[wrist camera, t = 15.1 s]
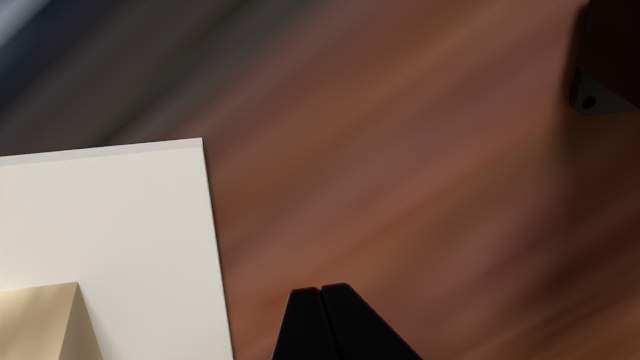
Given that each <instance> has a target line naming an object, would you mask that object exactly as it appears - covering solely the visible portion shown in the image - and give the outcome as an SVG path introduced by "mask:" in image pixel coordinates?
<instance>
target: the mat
mask: <svg viewBox="0 0 640 360" xmlns="http://www.w3.org/2000/svg"><path fill="white" fill-rule="evenodd" d="M77 281H78V284H79V287H80V290H81V293H82V296H83V299H84V302H85V305H86V308H87V311H88V315H89V318H90V321H91V324H92V327H93V330H94V333H95V336H96V339H97V342H98V345H99V348H100V351H101V354H102V357H103V360H234V358H233V351H232V344H231V337H230V330H229V323H228V316H227V309H226V302H225V295H224V288H223V282H222V275H221V268H220V261H219V254H218V247H217V240H216V233H215V226H214V219H213V212H212V205H211V198H210V191H209V184H208V177H207V170H206V163H205V156H204V149H203V142H202V138H193V139H183V140H172V141H162V142H151V143H141V144H130V145H120V146H109V147H99V148H89V149H78V150H68V151H57V152H47V153H36V154H26V155H15V156H5V157H0V291H5V290H13V289H21V288H29V287H37V286H45V285H53V284H61V283H69V282H77Z"/></svg>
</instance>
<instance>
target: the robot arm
mask: <svg viewBox="0 0 640 360" xmlns="http://www.w3.org/2000/svg"><path fill="white" fill-rule="evenodd" d="M588 96H589V98H588V100H587V101H586V102H585V103H583V104H582V102H583V100H584V99H585V98H586V97H588ZM569 105H570V107H571V108H572V109H573V110H574V111H576V112H577V113H578V114H580V115H595V114H605V113H615V112H625V111H635V110H637V111H639V112H640V0H592V1H591V5H590V9H589V13H588V18H587V22H586V26H585V30H584V34H583V38H582V42H581V46H580V51H579V55H578V59H577V69H576V73H575V77H574V81H573V86H572V90H571V94H570V98H569ZM271 360H423V359H422V358H421V357H420V356H419V355H418V354H417V353H416V352H415V351H414V350H413V349H412V348H411V347H410V346H409V345H408V344H407V343H406V342H405V341H404V340H403V339H402V338H401V337H400V336H399V335H398V334H397V333H396V332H395V331H394V330H393V329H392V328H391V327H390V326H389V325H388V324H387V323H386V322H385V321H384V320H383V319H382V318H381V317H380V316H379V315H378V314H377V313H376V312H375V311H374V310H373V309H372V308H371V306H370V305H369V304H368V303H367V302H366V301H365V300H364V299H363V298H362V297H361V296H360V295H359V294H358V293H357V292H356V291H355V290H354V289H353V288H352V287H351V286H350V285H348V284H346V283H338V284H330V285H323V286H321V287H320V289H319V290H318V288H316V287H308V288H300V289H294V290H292V291H291V292H290V293H289V296H288V299H287V303H286V307H285V310H284V314H283V317H282V321H281V324H280V328H279V332H278V335H277V339H276V342H275V346H274V349H273V353H272V356H271Z"/></svg>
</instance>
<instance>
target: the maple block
mask: <svg viewBox="0 0 640 360" xmlns="http://www.w3.org/2000/svg"><path fill="white" fill-rule="evenodd" d="M0 360H103V357H102V354H101V351H100V348H99V345H98V342H97V339H96V336H95V333H94V330H93V327H92V324H91V321H90V318H89V315H88V311H87V308H86V305H85V302H84V299H83V296H82V293H81V290H80V287H79V284H78V281H77V282H69V283H61V284H53V285H45V286H37V287H29V288H21V289H13V290H5V291H0Z"/></svg>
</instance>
